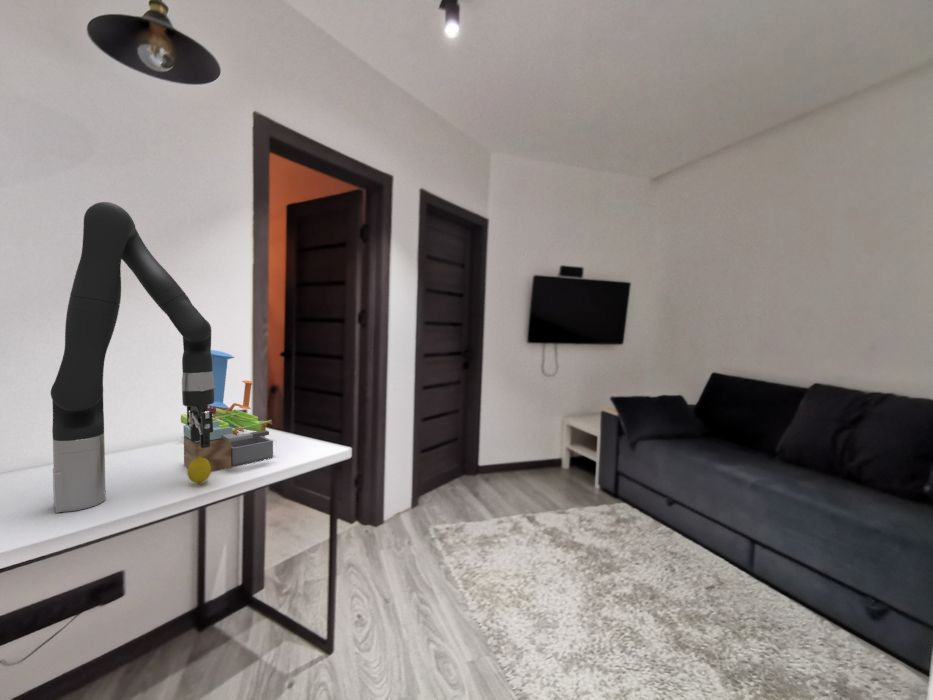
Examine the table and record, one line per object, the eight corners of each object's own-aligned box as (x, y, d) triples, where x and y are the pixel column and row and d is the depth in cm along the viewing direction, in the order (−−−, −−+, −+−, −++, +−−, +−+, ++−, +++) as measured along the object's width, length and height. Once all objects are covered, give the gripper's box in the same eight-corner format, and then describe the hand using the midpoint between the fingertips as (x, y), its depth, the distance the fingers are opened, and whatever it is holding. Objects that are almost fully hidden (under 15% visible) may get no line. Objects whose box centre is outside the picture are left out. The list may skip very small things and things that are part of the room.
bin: (232, 466, 130) (232, 448, 129) (218, 457, 138) (218, 440, 138) (273, 458, 139) (273, 440, 139) (257, 450, 148) (257, 433, 147)
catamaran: (216, 429, 171) (224, 348, 167) (273, 449, 160) (283, 363, 157) (173, 440, 154) (181, 350, 151) (234, 463, 144) (244, 367, 140)
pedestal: (196, 475, 122) (195, 443, 121) (184, 465, 130) (183, 435, 130) (231, 467, 129) (231, 437, 129) (217, 458, 137) (217, 430, 137)
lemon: (184, 488, 111) (184, 460, 111) (192, 481, 117) (191, 454, 116) (207, 487, 113) (206, 459, 113) (213, 480, 118) (213, 453, 118)
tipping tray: (202, 446, 117) (202, 436, 117) (183, 434, 130) (183, 425, 129) (269, 434, 132) (269, 425, 131) (246, 425, 144) (246, 416, 144)
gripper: (175, 386, 115) (177, 442, 116) (190, 392, 106) (192, 452, 107) (205, 383, 121) (206, 436, 122) (222, 388, 112) (223, 446, 113)
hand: (200, 444), depth 115 cm, fingers open, 8 cm apart
